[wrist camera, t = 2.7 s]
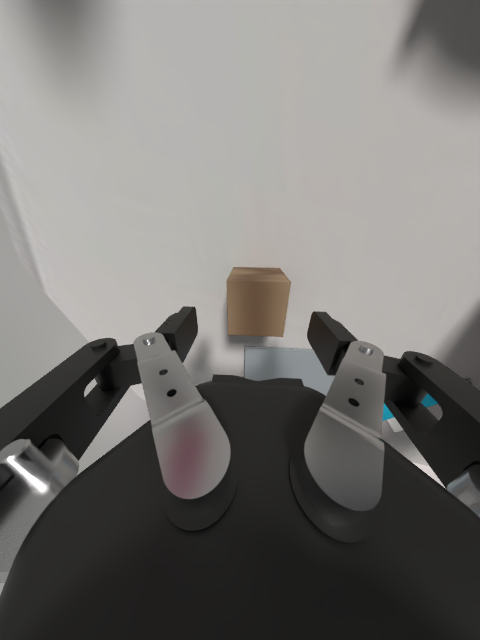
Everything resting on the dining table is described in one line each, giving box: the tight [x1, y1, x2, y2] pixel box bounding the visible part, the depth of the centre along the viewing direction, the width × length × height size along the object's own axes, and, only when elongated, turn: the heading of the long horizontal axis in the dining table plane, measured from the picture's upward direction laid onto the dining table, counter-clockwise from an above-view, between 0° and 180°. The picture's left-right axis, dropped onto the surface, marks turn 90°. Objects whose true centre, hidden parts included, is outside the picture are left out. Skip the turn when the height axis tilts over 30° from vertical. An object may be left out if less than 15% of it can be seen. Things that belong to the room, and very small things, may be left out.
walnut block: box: [227, 267, 291, 337], centre depth 17 cm, size 5×5×6 cm
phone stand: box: [382, 378, 472, 433], centre depth 27 cm, size 20×12×2 cm, turn 128°
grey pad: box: [244, 346, 335, 396], centre depth 26 cm, size 14×14×1 cm
